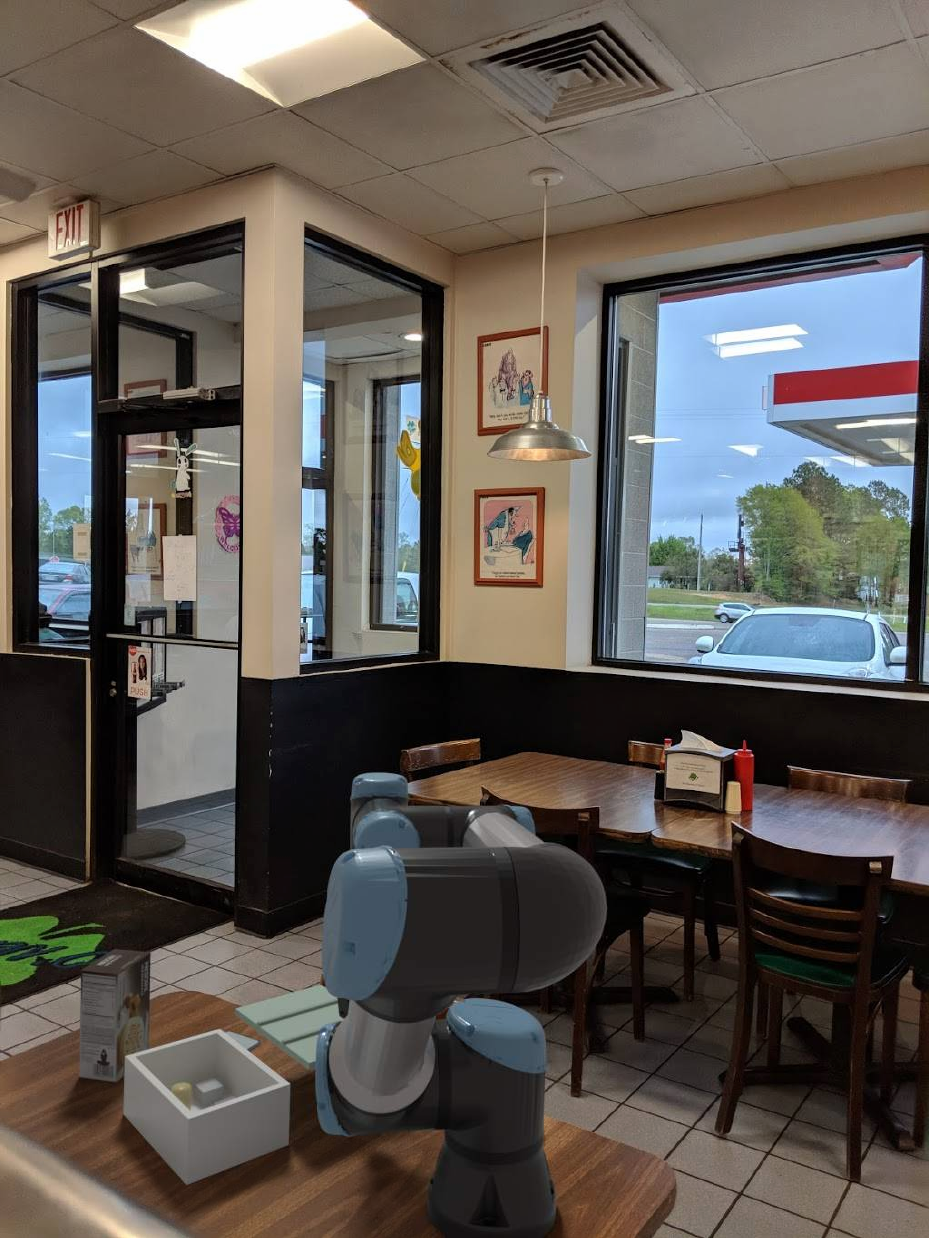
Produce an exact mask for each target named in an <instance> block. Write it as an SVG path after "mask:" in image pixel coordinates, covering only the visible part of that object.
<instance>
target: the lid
mask: <svg viewBox="0 0 929 1238" xmlns="http://www.w3.org/2000/svg"><path fill="white" fill-rule="evenodd" d="M234 1015H235V1016H236V1017H237V1018H238V1019H240V1020H241V1021H242V1022H244V1024H246V1025H248V1026H249V1027H250V1028H251V1029H253V1030H254V1031H256V1032H257V1033H258V1034H259V1035H261V1036H262V1037H263V1038H265V1039H266V1040H267V1041H269V1042H270V1043H271V1044H273V1045H274V1046H276V1047H277V1048H278V1049H280V1051H282V1052H283V1053H285V1054H287V1055H288V1056H289V1057H291V1058H292V1059H293V1060H295V1061H296V1062H297V1063H298V1064H300V1065H301V1066H303V1067H304V1068H305V1069H306V1070H308V1071H313V1070H315V1065H316V1046H317V1039H318V1035H319V1031H320V1029H321V1027H322V1026H324V1025H325V1024H329V1023H334V1022H337V1021H343V1020H344V1019H343V1018H342V1017H340V1016H339V1009H338V998H337V997H334V996H332V995H331V994H330V993H329V992H328V991H327V989H326V986H324V985H322V984H318V985H315V986H312V987H308V988H304V989H300V990H297V991H294V992H289V993H287V994H283V995H280V996H276V997H275V996H274V997H272V998H269V999H264V1000H261V1001H257V1002H254V1003H250V1004H246V1005H243V1006H240V1007H237V1008H235V1010H234Z"/></svg>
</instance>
